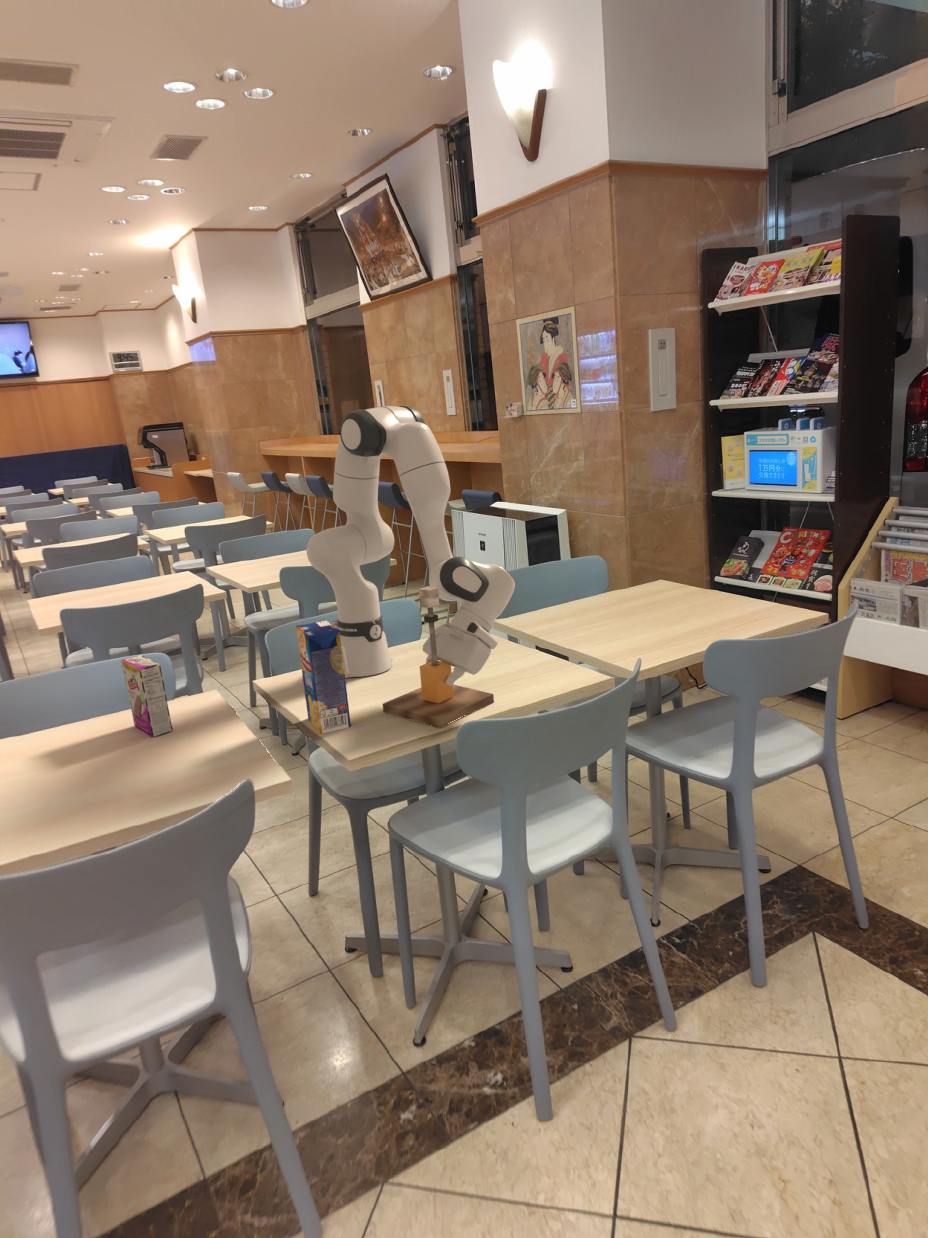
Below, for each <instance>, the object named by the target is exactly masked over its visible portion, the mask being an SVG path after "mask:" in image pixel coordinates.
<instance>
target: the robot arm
mask: <svg viewBox="0 0 928 1238" xmlns="http://www.w3.org/2000/svg"><path fill="white" fill-rule="evenodd" d="M339 435H340V437H339V441H338V444H337V449H336V454H335V461H334V471H333V477H334V478H333V490H332V491H333V493H332V499H333V502H334V504H335V505H336V507H338V509H339V510H342V511H343V512H345V514H346V524H343V525H340V526H334V527H330V528H327V529H326V528H325V529H324V530H321V531H319V532H317V533H315V534H314V535H312V536H311V537H310V538H309V539H308V542H307V546H306V555H307V556H306V557H307V559H308V562H309V563H310V565H311V566H312V568H314V569H315V571H318V572H319V573H321V574H322V575H324V576H325V578H326V579H327V581H328V582H329V583H330V586H331V587H332V590H333V592H334V597H335V602H336V609H337V616H338V619H336V620H334V621H332V623H333V625H332V626H335V628H336V629H338V630H339V631H340V639H341V647H342V655H343V664H344V672H345V679H348V678H359V677H361V678H362V677H368V676H374V675H379V674H383V673H385V672H386V671H388V670H390V669H391V668H392V666H393V664H392V661H393V656H392V655H391V654H390V651H389V644H388V641H387V637H386V636H387V635H386V633H385V631H384V618H383V615H381V608H380V599H379V590H378V588H377V587H378V586H376V585H375V583H373V582H372V581H369V580H367V579H365V578H364V576H363V574H362V571H361V566H363V565H367V564H370V563H375V562H377V561H380V560H381V559H383V558H385V557H387V556H389V555H390V554H391V553H392V551H394V546H395V536H394V532H393V530H392V528H391V527H390V526H389V525H388V524H387V523H386V522H385V521H384V520H383V518H382V516H381V513H380V510H379V503H378V502H379V501H378V499H379V495H378V494H379V483H380V482H379V481H380V465H381V464H380V463H381V460H382V459H381V458H382V456H390V458H392V461H394V464H395V467H396V471H397V475H398V477H399V481H400V483H401V486H402V489H403V492H404V495H405V498H406V499H407V502H408V504H409V507H410V509H411V512H412V515H413V517H414V519H415V520H414V521H415V523H416V526H417V531H418V534H419V538H420V541H421V544H422V545H421V546H422V549H423V553H424V556H425V559H426V565H427V571H426V579H425V583H426V584H425V585H426V586H425V587H427V586H430V587H438V594H439V604H443V605H453V604H456V603H459V604H460V607H459V608H458V610H457V611H456V613H455V614H454V616H453V617H452V618H451V620H450V622H447V621H446V622H445V623H444V624H441V625H439V626H438V627H436V628H435V639H436V650H437V661H441V662H446V663H451V667H453V671H451V674H450V675H449V676H448V675H447V676H446V677H445V679H444V680H443V682H444V683H445V684H446V685H448V686H452V685H455V684H454V683H455V682H456V681H458V680H459V679H460V678H462V677H463V676H464V674H465V673H468V674H470V675H473V676H475V675H476V674H477V673H479V672H480V671H481V670H482V668H483V667H484V666H485V664H486V663H487V661H488V660H489V657H490V656H491V653H492V650H494V649H495V648H496V647H497V646H498V643H499V642H498V640H497V639H496V638H495V637H494V636H493V635H492V634H491V630H492V629H493V626H494V624H495V621H496V620H497V618H498V617H499V616H501V614H502V613H503V612H504V610H505V608H506V607H507V605H508V603H509V601H510V599H511V598H512V596H513V594H514V591H515V588H516V587H515V586H516V583H515V580H514V578H513V576H512V575H511V573H510V572H509V571H508V570H507V569H505V568H504V567H503V566H501V565H500V564H497V563H481V562H477V561H474V560H471V559H469V558H466V557H464V556H463V557H462V556H453V553H452V550H451V546H450V542H449V538H448V534H447V531H446V527H445V513H446V508H447V505H448V502H449V499H450V496H451V492H452V491H451V483H450V475H449V471H448V468H447V465H446V461H445V458H444V456H443V453H442V451H441V448H440V446H439V444H438V441H437V439H436V438H435V435H434V433H433V431H432V430H431V428H430V427H429V426H428V425H427V424H426V423H425V420H424V417H423V415H422V413H421V412H419V411H418V410H417V409H415V408H414V407H411V406H407V405H399V406H394V405H381V406H378V407H372V408H367V409H357V410H353V411H351V412H349V413H347V414H346V415H345V416H344V417H343V419H342V421H341V423H340V427H339ZM422 652H424V653H425V654H426V655H427V657H426V660H425V664H426V663H429V662H431V661H432V654H431V643H430V636H428V638H427V640H426V641H424V644H422Z"/></svg>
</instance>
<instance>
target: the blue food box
mask: <svg viewBox="0 0 928 1238" xmlns="http://www.w3.org/2000/svg"><path fill="white" fill-rule="evenodd" d="M295 628H296V636H297V643H298V651H299V659H300V660H299V661H300V664H301V665H300V666H301V674H302V679H303V682H302V683H303V688H304V689H303V690H304V696H305V702H306V703H305V704H306V711H307V712H306V713H307V718H308V720H309V721H310V722H311V723H312V725H313V726H314V727H315V729H316V730H317V731H318V733H320V734H321V735H323V734H326V733H331V732H335V731H338V730H343V729H347V728H351V727H352V724H351V718H350V717H351V716H350V706H349V701H348V700H349V699H348V689H347V681H346V678H345V672H344V664H343V655H342V647H341V639H340V631H339V630H338V629H336V626H335V625H332V624H331V623H330V622H329V621H328V620H322V621H316V622H315V621H314V622H310V623H305V624H304V623H303V624H299V625H296V626H295Z"/></svg>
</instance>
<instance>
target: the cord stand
mask: <svg viewBox="0 0 928 1238" xmlns="http://www.w3.org/2000/svg"><path fill="white" fill-rule="evenodd" d="M418 597H419V605H420V606H419V607H420V608H426V609H427V614H426V615H424V616H423V621H424V623H427V624H428V629H429V630H428V631H429V637H430V643H431V654H432V665H433V666H435V667H436V666H438V662H437V650H436V639H435V630H436V628H435V623H436V622H438V621H439V615H438V614H436V613H435V614H434V608H435V607H437V606H440V603H439V594H438V587H430V586H425V587H422V588H421V587H420V588H419V589H418ZM452 686H453V697H452V698H449V699H447V700H445V701H443V702H441V703H434V702H431V701H427V700H423V698H422V687H419V688H416V689H414V690H412V691H410V692H407V693H404V694H403V695H400V696H398V697H395V698H393V699H391V700H388V701H386V702H384V703H382V710H383V711H382V712H383V713H385V712H386V713H385V714H389V713H390V714H389V715H392V714H393V716H396V715H397V716H396V717H399V716H400V718H404V719H406V720H409V719H410V720H409V721H413V720H414V722H416V721H417V723H420V722H421V723H420V724H423V723H425V724H424V725H427V724H428V725H427V726H430V725H432V726H431V727H434V726H435V727H434V728H437V727H438V729H442V728H444V727H446V726H448V725H449V724H448V723H450V722H452V721H454V720H456V719H458V718H460V717H462V716H464V715H466V714H468V713H471V712H473V713H475V712H476V711H475V710H477V711H479V710H481V709H483V708H485V707H487V706H489V705H491V704H493V703H495V699H494V698H495V697H494V696H495V695H494V693H491V692H487V691H482V690H479V689H473V688H470V687H465V686H462V685H459V684H453V685H452ZM480 708H481V709H480ZM478 709H479V710H478ZM474 711H475V712H474ZM471 714H472V713H471ZM462 718H463V717H462ZM460 719H461V718H460ZM458 720H459V719H458ZM456 721H457V720H456ZM454 722H455V721H454ZM452 723H453V722H452ZM447 724H448V725H447ZM450 724H451V723H450ZM445 725H446V726H445ZM443 726H444V727H443Z"/></svg>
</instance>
